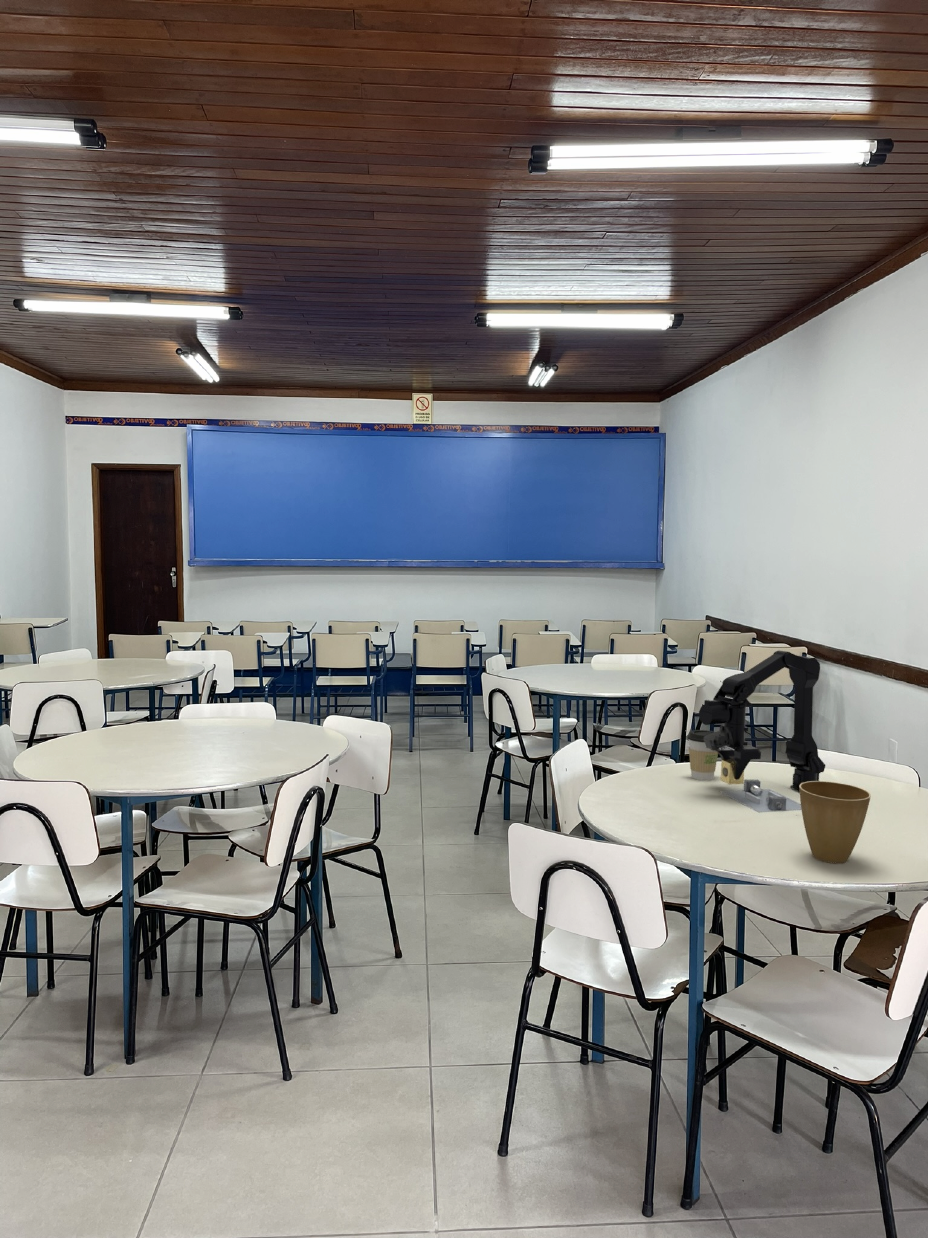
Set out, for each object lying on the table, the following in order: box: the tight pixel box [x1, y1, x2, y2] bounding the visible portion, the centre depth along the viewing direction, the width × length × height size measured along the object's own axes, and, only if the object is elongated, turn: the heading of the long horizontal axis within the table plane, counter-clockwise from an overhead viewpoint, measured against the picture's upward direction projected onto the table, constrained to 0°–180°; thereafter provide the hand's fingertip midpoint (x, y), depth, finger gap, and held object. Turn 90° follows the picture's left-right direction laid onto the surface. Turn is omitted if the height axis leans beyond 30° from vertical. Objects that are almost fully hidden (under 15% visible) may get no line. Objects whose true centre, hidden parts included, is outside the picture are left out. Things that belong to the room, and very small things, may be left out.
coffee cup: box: [686, 729, 719, 781], centre depth 258 cm, size 10×10×15 cm
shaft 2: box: [766, 796, 786, 810], centre depth 228 cm, size 6×4×3 cm
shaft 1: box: [743, 779, 763, 796], centre depth 242 cm, size 6×4×3 cm
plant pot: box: [799, 780, 872, 864], centre depth 193 cm, size 15×15×16 cm
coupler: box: [720, 759, 745, 786], centre depth 239 cm, size 5×4×6 cm
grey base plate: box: [718, 788, 802, 813], centre depth 235 cm, size 16×20×3 cm
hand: (732, 777), depth 240 cm, fingers closed on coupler, 4 cm apart
